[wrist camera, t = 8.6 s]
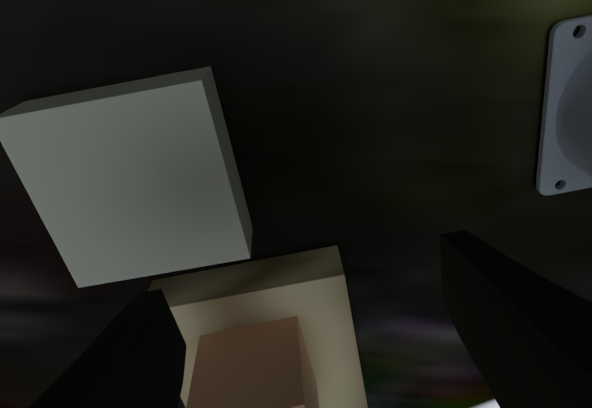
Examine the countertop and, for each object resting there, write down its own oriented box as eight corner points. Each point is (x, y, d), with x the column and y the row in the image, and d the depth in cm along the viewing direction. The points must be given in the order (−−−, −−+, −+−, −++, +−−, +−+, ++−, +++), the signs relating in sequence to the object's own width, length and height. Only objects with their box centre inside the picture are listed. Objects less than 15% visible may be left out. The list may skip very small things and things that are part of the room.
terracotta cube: (297, 315, 21) (304, 404, 17) (316, 382, 24) (327, 475, 19) (199, 335, 21) (182, 428, 17) (228, 399, 24) (219, 495, 19)
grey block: (211, 64, 18) (201, 80, 15) (252, 223, 22) (250, 258, 19) (29, 98, 18) (-11, 119, 16) (101, 250, 22) (78, 287, 20)
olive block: (335, 239, 23) (344, 274, 20) (358, 367, 28) (367, 409, 25) (154, 274, 23) (139, 313, 21) (207, 394, 28) (200, 438, 25)
